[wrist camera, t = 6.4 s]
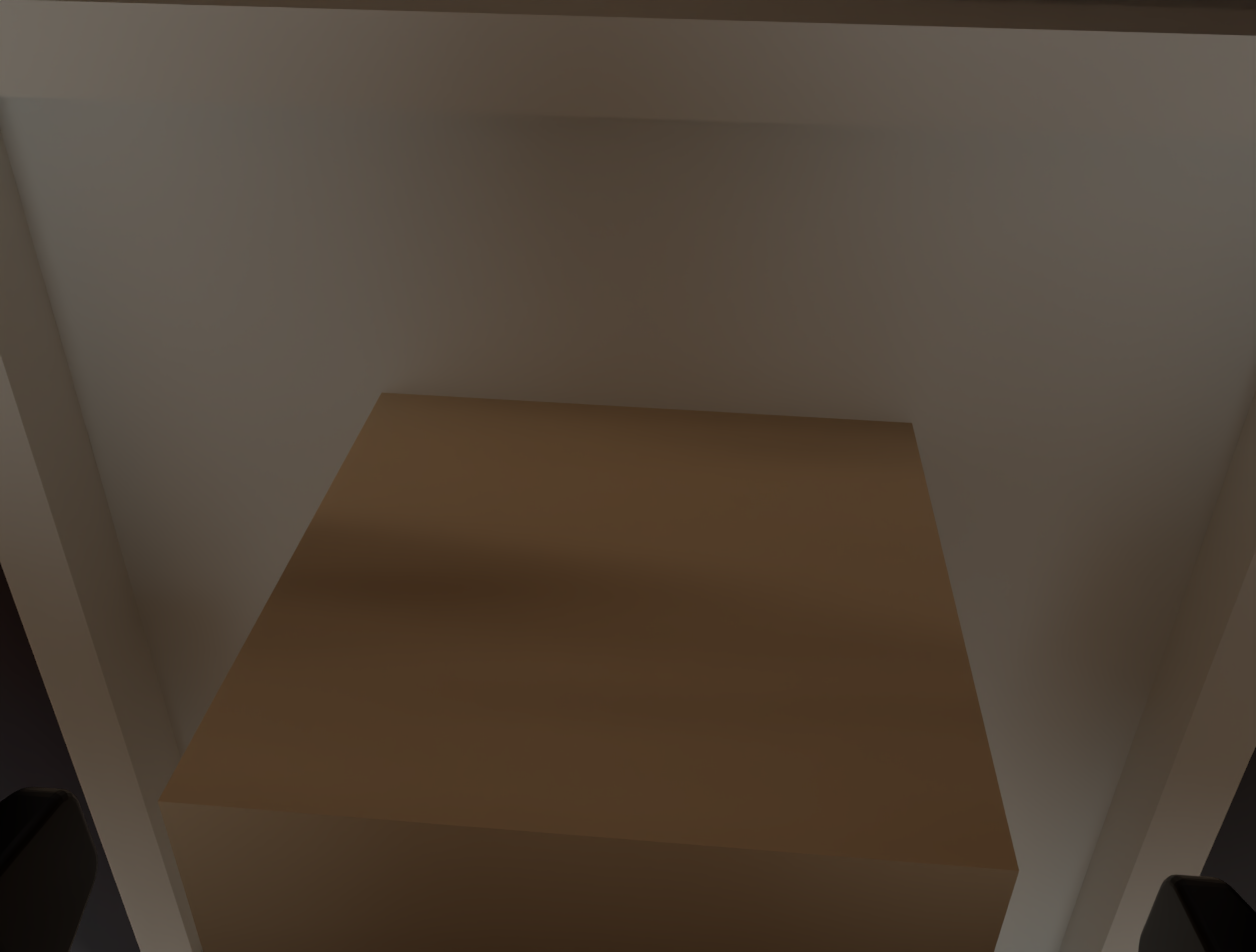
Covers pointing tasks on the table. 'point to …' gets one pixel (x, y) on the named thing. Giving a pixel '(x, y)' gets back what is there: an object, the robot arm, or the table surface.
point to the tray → (653, 340)
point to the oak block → (602, 699)
